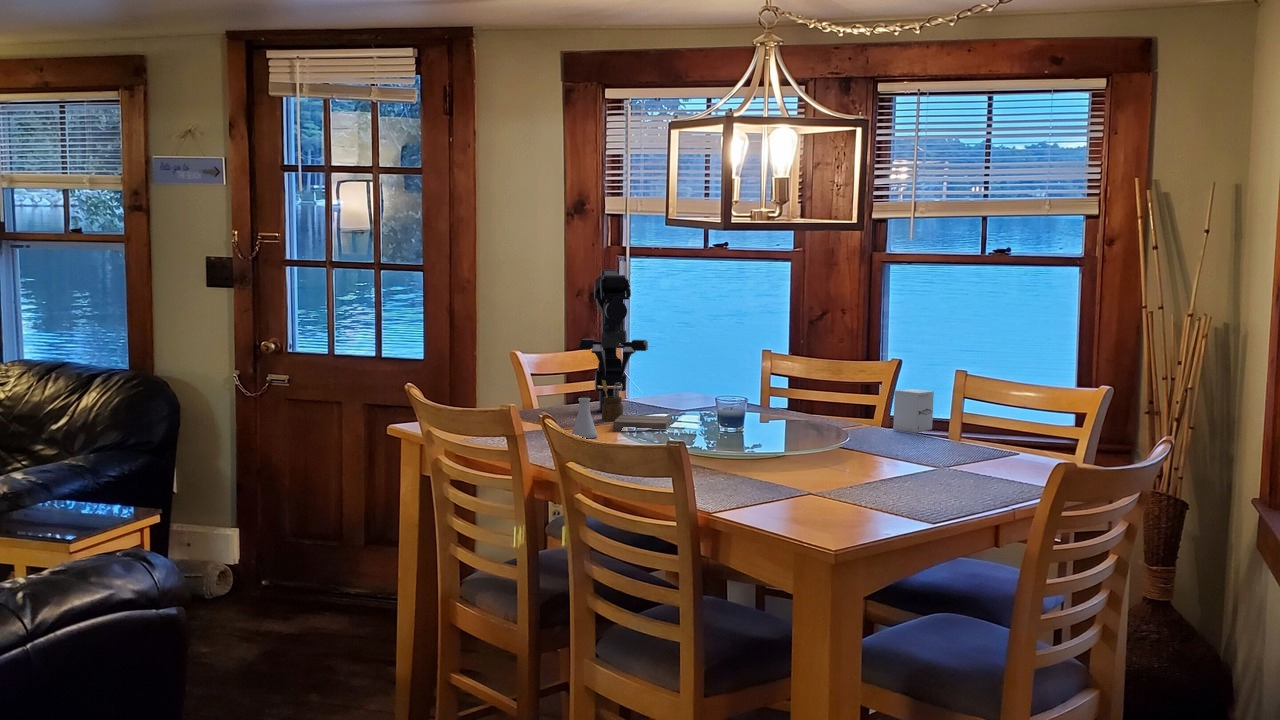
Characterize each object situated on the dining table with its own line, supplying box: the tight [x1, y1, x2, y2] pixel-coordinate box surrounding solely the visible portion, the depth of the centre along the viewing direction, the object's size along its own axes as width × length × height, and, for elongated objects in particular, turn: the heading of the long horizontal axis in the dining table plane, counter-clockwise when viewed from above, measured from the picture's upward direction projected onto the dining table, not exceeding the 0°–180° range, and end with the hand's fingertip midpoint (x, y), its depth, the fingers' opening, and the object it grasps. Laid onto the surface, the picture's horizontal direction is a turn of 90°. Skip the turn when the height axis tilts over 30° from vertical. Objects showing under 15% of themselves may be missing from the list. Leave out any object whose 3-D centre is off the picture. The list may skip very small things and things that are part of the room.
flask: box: [571, 397, 598, 439], centre depth 293 cm, size 7×7×10 cm
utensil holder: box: [601, 380, 624, 422], centre depth 321 cm, size 6×6×12 cm
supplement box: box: [892, 388, 934, 434], centre depth 296 cm, size 7×7×13 cm
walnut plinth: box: [612, 414, 672, 432], centre depth 310 cm, size 14×14×2 cm
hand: (613, 375), depth 320 cm, fingers open, 5 cm apart
